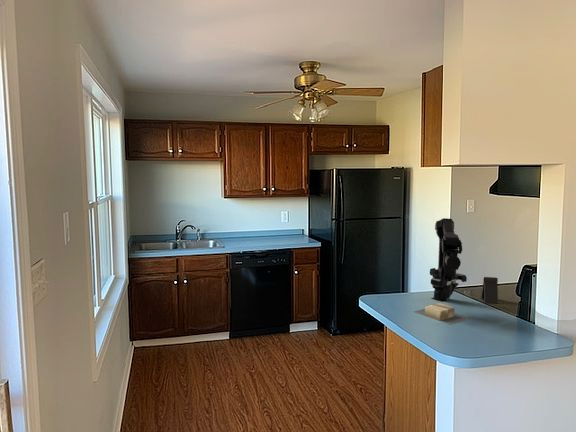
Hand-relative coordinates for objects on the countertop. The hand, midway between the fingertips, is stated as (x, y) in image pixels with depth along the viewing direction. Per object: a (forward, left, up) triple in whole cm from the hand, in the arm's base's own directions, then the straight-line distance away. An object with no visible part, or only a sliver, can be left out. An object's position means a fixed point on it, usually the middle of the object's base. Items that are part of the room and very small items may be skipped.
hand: (447, 298), depth 207 cm
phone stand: (-37, -2, -8) cm, 38 cm away
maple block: (0, 0, -5) cm, 5 cm away
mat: (+3, 0, -8) cm, 8 cm away
